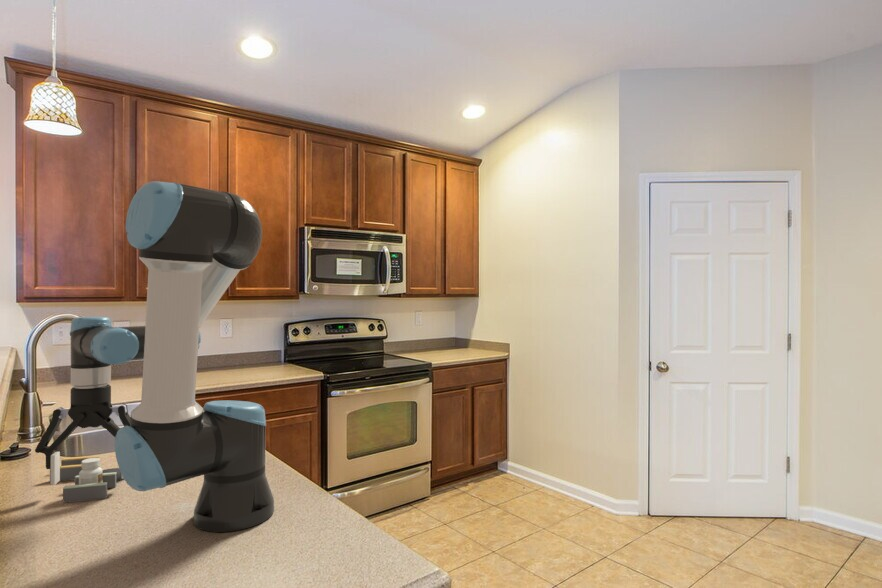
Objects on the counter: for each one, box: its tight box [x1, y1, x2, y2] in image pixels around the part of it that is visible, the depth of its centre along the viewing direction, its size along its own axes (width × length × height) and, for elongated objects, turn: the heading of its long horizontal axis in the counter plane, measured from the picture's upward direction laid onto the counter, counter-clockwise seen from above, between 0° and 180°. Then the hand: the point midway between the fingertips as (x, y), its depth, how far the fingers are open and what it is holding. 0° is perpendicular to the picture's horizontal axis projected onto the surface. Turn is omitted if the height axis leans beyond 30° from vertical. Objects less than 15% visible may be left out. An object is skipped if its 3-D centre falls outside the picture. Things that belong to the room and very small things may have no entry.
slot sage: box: [62, 472, 117, 503], centre depth 115 cm, size 8×8×3 cm
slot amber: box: [49, 455, 100, 483], centre depth 127 cm, size 8×8×3 cm
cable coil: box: [102, 467, 125, 484], centre depth 124 cm, size 7×7×2 cm
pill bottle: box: [79, 457, 104, 485], centre depth 115 cm, size 4×4×8 cm
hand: (90, 479), depth 115 cm, fingers open, 13 cm apart
